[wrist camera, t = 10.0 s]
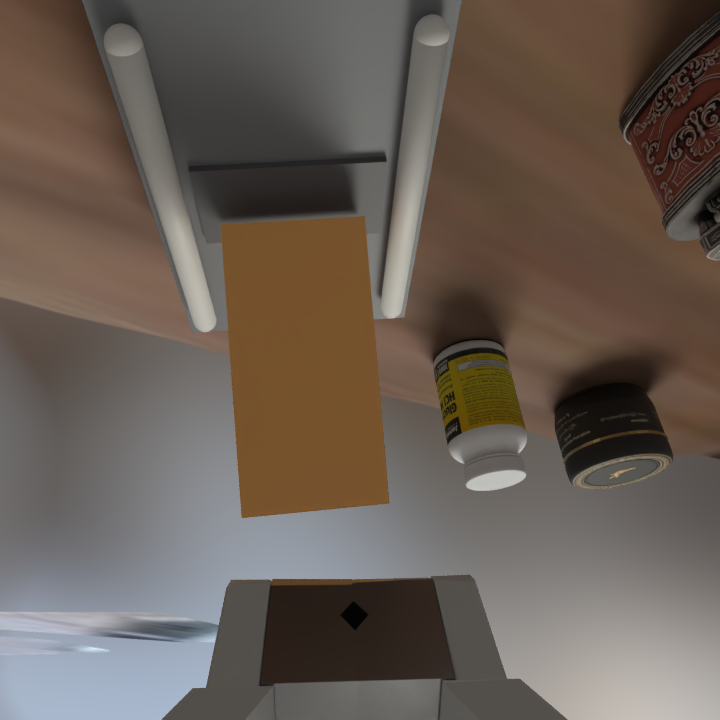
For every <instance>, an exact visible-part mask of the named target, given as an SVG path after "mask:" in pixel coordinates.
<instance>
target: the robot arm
mask: <svg viewBox="0 0 720 720" xmlns="http://www.w3.org/2000/svg"><path fill="white" fill-rule="evenodd" d="M162 720H567V719H566V718H565V717H564V716H563V715H561V714H560V713H559V712H558V711H557V710H556V709H555V708H553V707H552V706H551V705H550V704H549V703H547V702H546V701H545V700H544V699H543V698H542V697H541V696H539V695H538V694H537V693H536V692H535V691H533V690H532V689H531V688H530V687H529V686H528V685H527V684H525V683H524V682H523V681H522V680H521V679H507V678H506V674H505V671H504V668H503V665H502V662H501V659H500V656H499V653H498V650H497V647H496V644H495V640H494V637H493V634H492V631H491V628H490V625H489V622H488V619H487V616H486V613H485V610H484V607H483V603H482V600H481V598H480V594H479V591H478V588H477V585H476V582H475V580H474V578H473V577H472V576H471V575H452V576H431V578H394V579H356V580H352V579H273V580H272V581H271V580H231V581H230V583H229V585H228V586H227V588H226V593H225V597H224V602H223V607H222V613H221V617H220V622H219V627H218V632H217V637H216V641H215V646H214V651H213V656H212V661H211V666H210V671H209V676H208V681H207V686H206V688H193V689H192V690H191V691H190V692H189V693H188V694H187V695H186V696H185V697H184V698H183V699H182V700H181V701H180V702H179V703H178V704H177V705H176V706H175V707H174V708H173V709H172V710H171V711H170V712H169V713H168V714H167V715H166V716H165V717H164V718H163V719H162Z"/></svg>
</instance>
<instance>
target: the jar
mask: <svg viewBox="0 0 720 720" xmlns="http://www.w3.org/2000/svg"><path fill="white" fill-rule="evenodd" d="M555 432H556V436H557V439H558V443H559V446H560V450H561V453H562V457H563V465H564V467H565V468H566V472H567V475H568V478H569V480H570V482H571V484H572V485H574V486H575V487H578V488H581V489H606V488H614V487H620V486H624V485H628V484H632V483H635V482H639V481H642V480H645V479H647V478H650V477H652V476H654V475H656V474H658V473H660V472H662V471H664V470H665V469H666V468H668V467H669V466H670V465H671V463H672V462H673V454H672V450H671V447H670V444H669V440H668V437H667V435H666V434H665V433H664V430H663V428H662V425H661V422H660V420H659V417H658V414H657V412H656V409H655V407H654V405H653V403H652V401H651V400H650V398H649V397H648V396H647V394H646V393H645V392H644V391H643V390H642V389H640V388H638V387H637V386H634V385H631V384H621V383H620V384H608V385H602V386H598V387H594V388H590V389H587V390H584V391H582V392H579V393H577V394H575V395H573V396H571V397H570V398H568V399H567V400H565V401H564V402H563V403H562V404H561V405H560V406H559V407H558V409H557V411H556V413H555Z"/></svg>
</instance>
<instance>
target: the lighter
mask: <svg viewBox="0 0 720 720" xmlns="http://www.w3.org/2000/svg"><path fill="white" fill-rule="evenodd" d="M619 127H620V130H621V132H622V134H623V136H624V138H625V140H626V142H627V143H629V144H631V145H632V147H633V149H634V151H635V154H636V156H637V158H638V160H639V163H640V165H641V167H642V169H643V171H644V174H645V176H646V178H647V180H648V182H649V185H650V187H651V189H652V191H653V194H654V196H655V198H656V200H657V202H658V205H659V207H660V209H661V211H662V213H663V215H662V224H663V226H664V228H665V230H666V233H667V234H668V236H669V238H671V239H673V240H677V241H689V240H694V239H697V238H700V239H699V241H700V243H701V245H702V247H703V249H704V252H705V254H706V256H707V258H709V259H711V260H720V11H718V12H717V13H716V14H715V15H714V16H712V17H711V18H710V19H709V20H708V21H707V22H705V23H704V24H703V25H702V26H701V27H699V28H698V29H697V30H696V31H695V32H694V33H692V34H691V35H690V36H689V37H688V38H687V39H686V40H685V41H684V42H683V43H682V44H681V45H680V46H679V47H678V48H677V49H676V50H675V51H674V52H673V53H672V54H671V55H670V56H669V57H668V58H667V59H666V60H664V61H663V62H662V64H661V65H660V66H659V67H658V68H657V70H656V71H655V72H654V73H653V74H652V75H651V77H650V78H649V79H648V80H647V81H646V82H645V84H644V85H643V86H642V87H641V88H640V89H639V91H638V92H637V94H636V95H635V96H634V98H633V99H632V101H631V102H630V103H629V105H628V106H627V107H626V109H625V110H624V112H623V113H622V115H621V117H620V119H619Z"/></svg>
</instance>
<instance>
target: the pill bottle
mask: <svg viewBox="0 0 720 720" xmlns="http://www.w3.org/2000/svg"><path fill="white" fill-rule="evenodd" d="M433 369H434V375H435V381H436V385H437V391H438V396H439V401H440V406H441V411H442V416H443V422H444V427H445V433H446V438H447V444H448V448H449V451H450V454H451V455H452V457H453V458H454V459H456V460H457V461H459V462H461V463H463V464H465V465H464V467H463V476H464V480H465V484H466V487H467V488H469V489H471V490H477V491H486V490H487V491H488V490H496V489H501V488H505V487H509V486H512V485H514V484H517V483H519V482H520V481H522V480H523V479H524V478H525V477H526V470H525V466H524V462H523V459H522V457H521V456H520V455H518V453H519V452H521V451H522V449H523V448H524V447H525V445H526V441H527V434H526V429H525V425H524V421H523V417H522V414H521V410H520V406H519V402H518V398H517V394H516V390H515V386H514V382H513V378H512V374H511V370H510V367H509V363H508V359H507V356H506V352H505V350H504V348H503V347H502V346H501V345H500V344H498V343H496V342H492V341H488V340H472V341H465V342H461V343H457V344H455V345H452V346H450V347H448V348H446V349H445V350H443V351H442V352H441V353H440V354H439V355H438V356H437V357H436V359H435V361H434V365H433Z"/></svg>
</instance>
